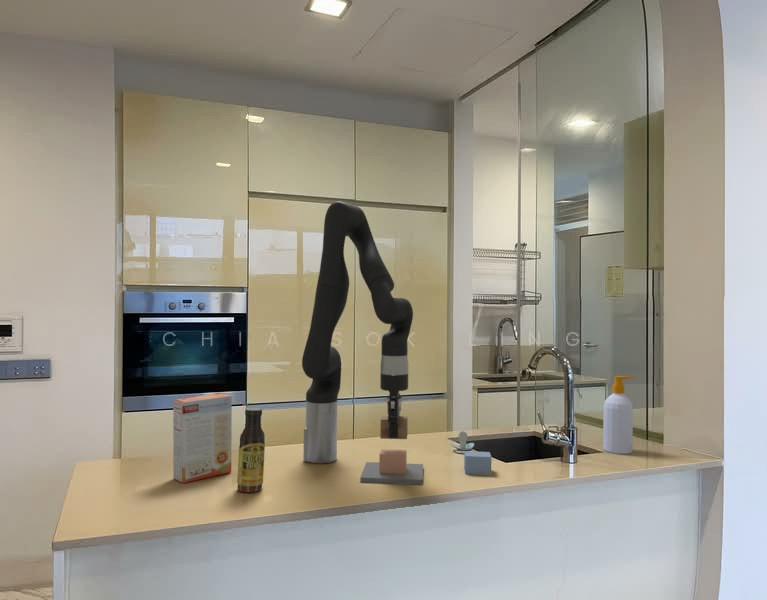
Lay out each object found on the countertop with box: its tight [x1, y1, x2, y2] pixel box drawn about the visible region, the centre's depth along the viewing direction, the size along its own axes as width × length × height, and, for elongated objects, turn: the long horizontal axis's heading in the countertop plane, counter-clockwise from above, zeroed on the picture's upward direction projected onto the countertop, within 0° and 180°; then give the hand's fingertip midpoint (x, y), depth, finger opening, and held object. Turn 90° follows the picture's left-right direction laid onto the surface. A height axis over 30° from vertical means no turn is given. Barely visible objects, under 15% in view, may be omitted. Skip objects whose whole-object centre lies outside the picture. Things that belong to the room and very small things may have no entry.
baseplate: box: [359, 448, 424, 485], centre depth 152 cm, size 16×14×6 cm
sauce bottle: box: [236, 407, 266, 493], centre depth 138 cm, size 6×6×20 cm
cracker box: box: [172, 393, 233, 484], centre depth 149 cm, size 14×6×21 cm, turn 134°
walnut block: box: [380, 415, 409, 440], centre depth 152 cm, size 7×5×5 cm
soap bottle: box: [602, 375, 636, 455], centre depth 180 cm, size 9×9×24 cm
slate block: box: [463, 451, 492, 476], centre depth 156 cm, size 7×5×5 cm
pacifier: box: [450, 430, 476, 455], centre depth 176 cm, size 7×6×6 cm
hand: (394, 434), depth 152 cm, fingers closed on walnut block, 5 cm apart
